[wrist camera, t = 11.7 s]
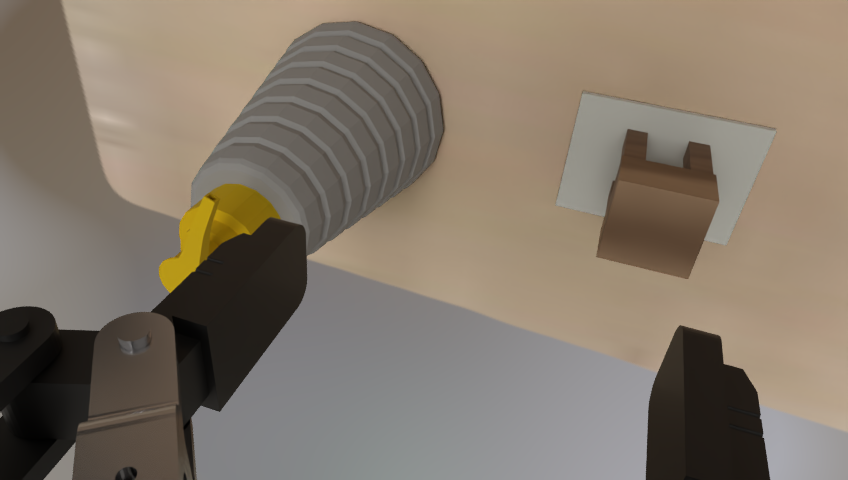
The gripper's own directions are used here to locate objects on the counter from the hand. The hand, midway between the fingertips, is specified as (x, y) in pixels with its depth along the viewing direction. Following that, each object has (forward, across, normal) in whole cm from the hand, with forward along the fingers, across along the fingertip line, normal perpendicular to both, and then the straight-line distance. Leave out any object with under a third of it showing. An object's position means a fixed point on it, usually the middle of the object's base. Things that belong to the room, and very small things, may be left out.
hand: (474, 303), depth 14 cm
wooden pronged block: (+28, -6, +10) cm, 30 cm away
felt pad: (+28, -6, +10) cm, 30 cm away
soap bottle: (+28, +14, +10) cm, 33 cm away
